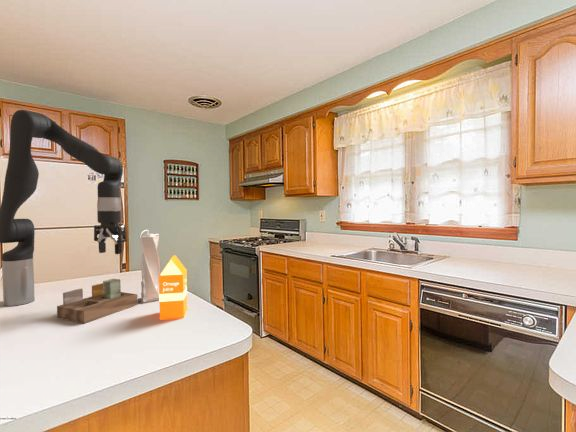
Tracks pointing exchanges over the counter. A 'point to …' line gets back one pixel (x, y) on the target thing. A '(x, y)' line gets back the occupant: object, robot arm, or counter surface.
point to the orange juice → (173, 290)
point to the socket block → (92, 305)
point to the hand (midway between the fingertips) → (110, 253)
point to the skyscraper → (150, 268)
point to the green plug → (111, 288)
